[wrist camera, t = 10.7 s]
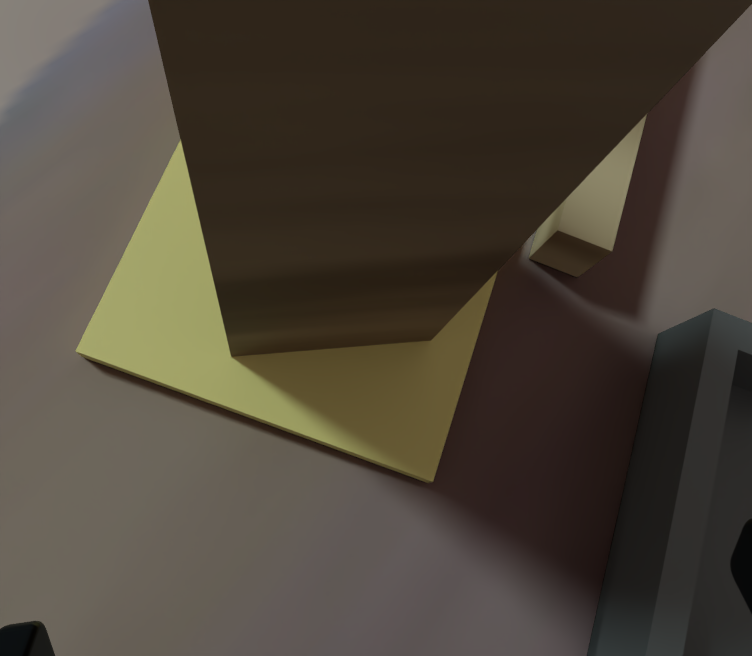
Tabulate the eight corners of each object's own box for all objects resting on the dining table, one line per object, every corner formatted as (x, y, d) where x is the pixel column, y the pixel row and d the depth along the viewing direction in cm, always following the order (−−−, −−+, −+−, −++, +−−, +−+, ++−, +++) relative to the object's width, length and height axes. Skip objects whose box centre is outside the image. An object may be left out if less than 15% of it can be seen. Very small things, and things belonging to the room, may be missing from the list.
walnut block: (431, 340, 17) (790, -38, 5) (231, 356, 16) (135, -52, 5) (406, 162, 19) (654, -466, 7) (218, 169, 18) (116, -543, 6)
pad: (427, 483, 17) (433, 481, 16) (81, 356, 17) (75, 351, 16) (520, 181, 20) (528, 171, 19) (225, 65, 19) (224, 51, 19)
